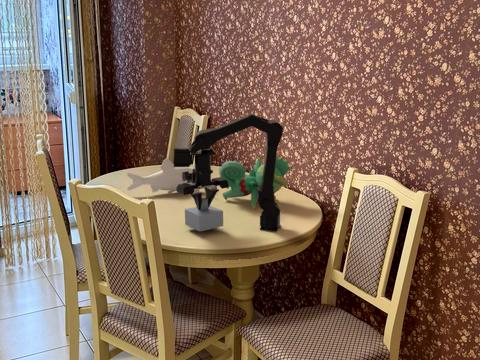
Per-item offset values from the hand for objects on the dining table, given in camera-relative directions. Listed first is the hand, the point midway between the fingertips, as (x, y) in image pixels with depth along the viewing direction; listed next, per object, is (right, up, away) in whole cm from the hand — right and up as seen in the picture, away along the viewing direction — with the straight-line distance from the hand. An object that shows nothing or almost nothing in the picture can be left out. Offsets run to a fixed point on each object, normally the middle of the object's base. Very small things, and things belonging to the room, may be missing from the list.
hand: (203, 208), depth 213 cm
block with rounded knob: (0, -6, +1) cm, 6 cm away
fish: (-18, +4, +46) cm, 50 cm away
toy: (+19, 0, +34) cm, 39 cm away
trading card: (-3, +3, +44) cm, 45 cm away
